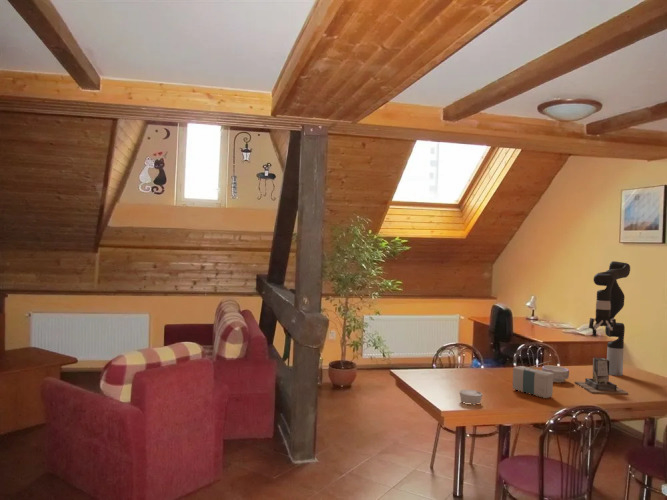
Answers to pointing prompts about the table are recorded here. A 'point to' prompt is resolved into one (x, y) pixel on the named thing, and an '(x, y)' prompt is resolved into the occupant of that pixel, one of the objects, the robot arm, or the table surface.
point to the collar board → (600, 387)
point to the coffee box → (601, 371)
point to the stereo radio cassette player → (533, 381)
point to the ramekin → (470, 396)
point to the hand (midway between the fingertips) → (602, 336)
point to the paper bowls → (557, 372)
